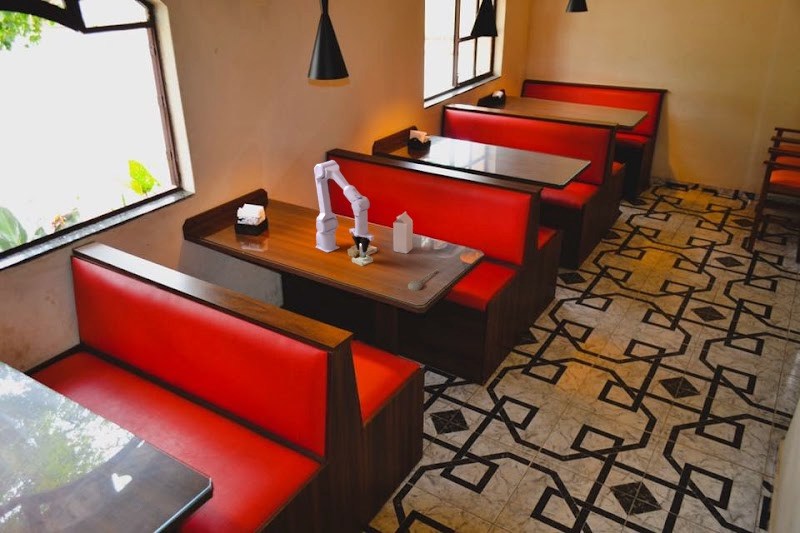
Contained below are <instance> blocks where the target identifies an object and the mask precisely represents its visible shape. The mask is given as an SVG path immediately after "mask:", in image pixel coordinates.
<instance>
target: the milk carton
mask: <svg viewBox="0 0 800 533" xmlns="http://www.w3.org/2000/svg"><path fill="white" fill-rule="evenodd" d="M392 224H393V225H392V226H393V233H392V234H393V236H392V237H393V243H392V244H393V252H395V253H396V252H397V253H400V254H401V253H402V254H408V253H409V252H410V251H412V249H413V239H414V238H413V231H414V230H413V229H414V227H413V225H414V223H413V219H412V218H411V217H410V215H408V213H407V211H404V212H403V213H402V214H399V215H398V216H396V220H395V221H394V222H392Z"/></svg>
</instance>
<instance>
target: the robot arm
mask: <svg viewBox="0 0 800 533" xmlns="http://www.w3.org/2000/svg"><path fill="white" fill-rule="evenodd" d="M313 171H314V172H313V173H314V180H315V186H316V194H317V200H318V206H319V215H318V216H316V218H315V219H316V223H315V224H316V225H315V226H316V230H317V232H316V234H315V235H316V236H315V238H316V246H315V249H318V250H320V251H323V252H325V253H327V254H328V253H331V252H333V251H336V250H338V249H340V246H338V245H336V242H337V241H336V231H337V229H338V227H339V221H338V219H337V216H336V214H335V213H334V212H333V211H332V206H331V205H332V204H331V199H330V193H329V185H328V180H329V179H331V180H334V181H335V183H336V184H337V185H338V186H339V187H340V188H341V189H342V190H343V195H344V196H345V198H346V199H347V200H348V201H349V202H350V203H351V209H352V211H353V215H354V227H352V228H349V233H350V234H353V235H352V236H351V238H352V240H353V241H354V242H353V243H354V244H355V245H356V247H357V250H359V242H361V244H362V251H363V252H367V249H368V245H370V243H371V242H372V241H375V236H374V235H373V234H371V233H370V232H369V228H368V227H369V226H368V225H369V224H368V209H369V208H370V206H371V205H370V204H371V203H370V201H369V199H368V197H366V196H363V195H362V194H361V193H360V192H359V191H358V190H357V188H356V187H355V186H354V185H351V184H350V183H349V182H348V181H347V179H346V178H345V177H344V175H343V174H342V172H341V171H340V165H339V164H338V163H337V161H335V160H333V159H331V160H328V161H325V162H321V163H316V165H315V166H314V167H313Z"/></svg>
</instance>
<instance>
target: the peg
mask: <svg viewBox="0 0 800 533" xmlns="http://www.w3.org/2000/svg"><path fill="white" fill-rule="evenodd" d="M358 255H359V257H360V258H365V257H366V252H363V251H362V244H361V242H359V254H358Z"/></svg>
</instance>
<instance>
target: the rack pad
mask: <svg viewBox="0 0 800 533" xmlns="http://www.w3.org/2000/svg"><path fill="white" fill-rule="evenodd" d="M351 262H352V263H353V264H357V265H359V266H361V267H363V266H365V265H369V264H371V263H372V262H374V258H373V257H372V256H370V255H366V257H365V258H360V256H359V257H357V258H355V257H351Z"/></svg>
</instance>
